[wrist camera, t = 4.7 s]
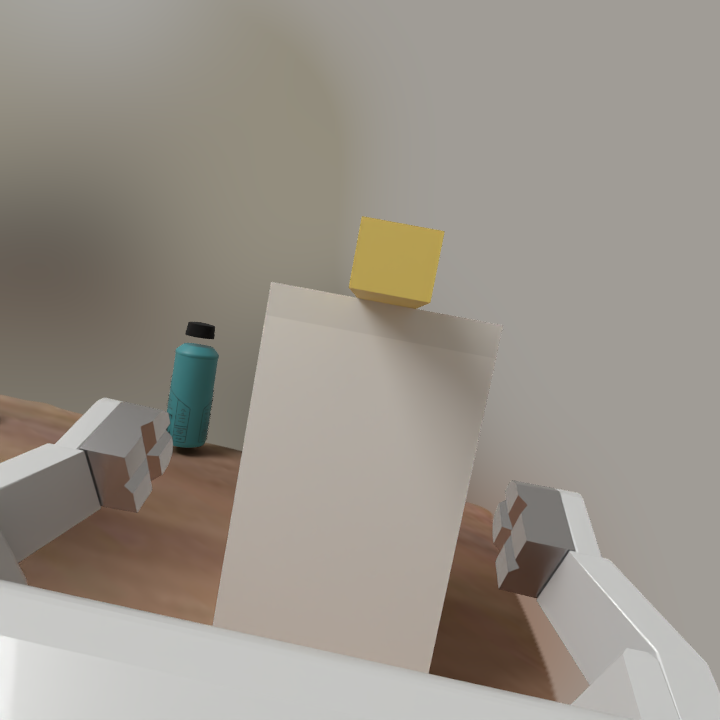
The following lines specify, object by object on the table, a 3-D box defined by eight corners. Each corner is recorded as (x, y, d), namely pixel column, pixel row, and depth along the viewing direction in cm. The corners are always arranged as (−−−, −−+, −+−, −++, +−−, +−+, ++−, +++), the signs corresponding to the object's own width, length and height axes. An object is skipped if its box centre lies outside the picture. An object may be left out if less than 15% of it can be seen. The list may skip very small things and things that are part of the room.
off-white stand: (416, 727, 30) (502, 325, 27) (203, 682, 30) (271, 281, 28) (404, 598, 43) (461, 324, 41) (258, 568, 44) (307, 295, 42)
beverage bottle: (213, 454, 73) (234, 328, 71) (175, 460, 67) (196, 324, 65) (188, 441, 76) (207, 321, 75) (150, 446, 71) (170, 317, 69)
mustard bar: (430, 302, 20) (444, 231, 19) (348, 287, 20) (361, 216, 19) (403, 314, 41) (409, 280, 41) (364, 306, 42) (370, 273, 41)
